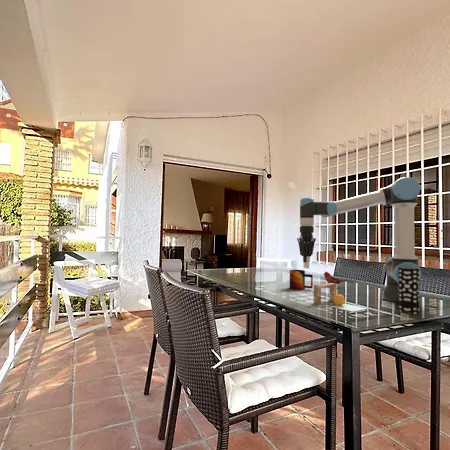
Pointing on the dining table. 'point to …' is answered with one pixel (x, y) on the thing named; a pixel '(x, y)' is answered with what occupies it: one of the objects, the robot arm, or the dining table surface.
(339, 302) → the ball
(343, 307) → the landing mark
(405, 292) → the white-spotted black cylinder
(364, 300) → the dining table surface
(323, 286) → the bridge
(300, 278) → the mug
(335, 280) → the decorative bird figurine
